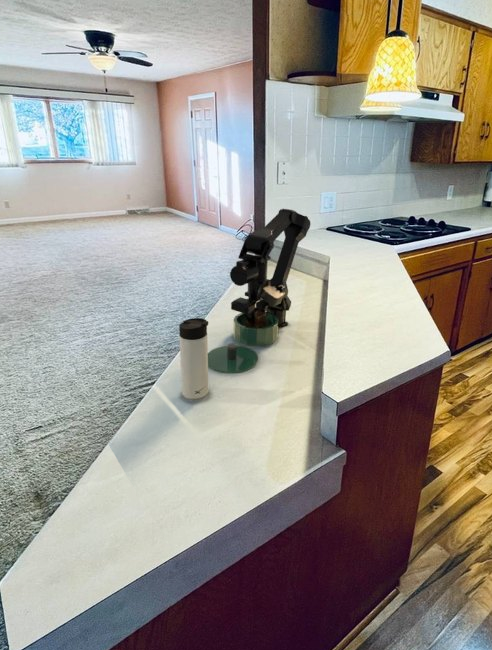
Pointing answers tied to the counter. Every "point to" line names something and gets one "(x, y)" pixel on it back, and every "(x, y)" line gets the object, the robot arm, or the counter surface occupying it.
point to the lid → (232, 359)
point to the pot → (255, 331)
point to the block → (258, 320)
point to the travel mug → (194, 358)
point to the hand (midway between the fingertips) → (256, 323)
